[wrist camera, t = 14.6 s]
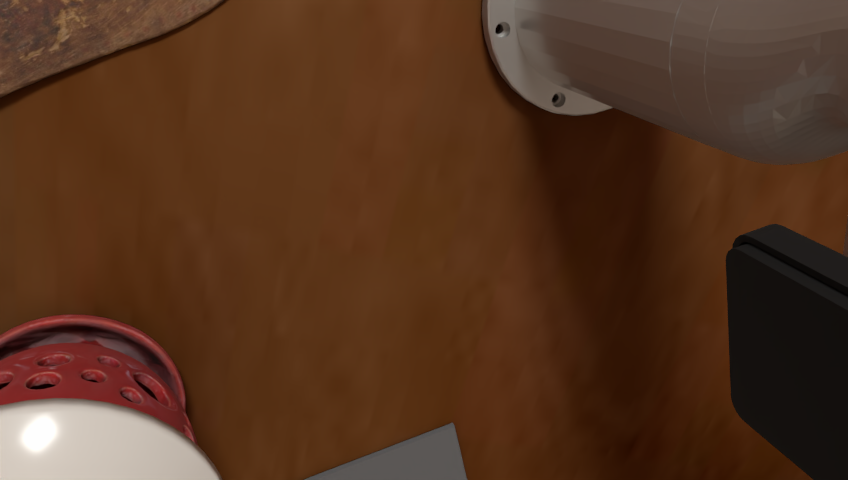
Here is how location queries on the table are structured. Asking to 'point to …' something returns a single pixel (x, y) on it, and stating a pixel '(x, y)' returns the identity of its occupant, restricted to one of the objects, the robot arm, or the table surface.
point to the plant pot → (92, 366)
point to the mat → (407, 460)
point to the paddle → (79, 32)
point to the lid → (94, 444)
